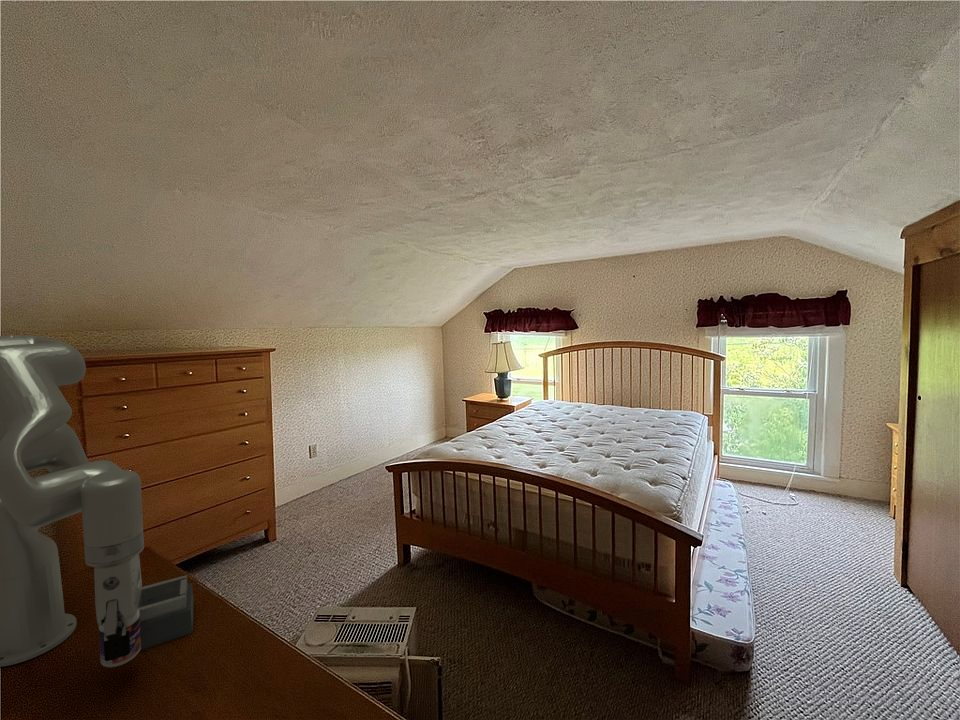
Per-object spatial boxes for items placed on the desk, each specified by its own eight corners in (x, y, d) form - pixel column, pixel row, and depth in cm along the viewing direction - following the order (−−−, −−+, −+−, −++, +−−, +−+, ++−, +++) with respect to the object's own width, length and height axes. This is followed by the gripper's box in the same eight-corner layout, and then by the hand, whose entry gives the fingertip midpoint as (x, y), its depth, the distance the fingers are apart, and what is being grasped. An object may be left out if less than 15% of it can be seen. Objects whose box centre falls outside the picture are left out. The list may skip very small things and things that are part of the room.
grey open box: (127, 654, 79) (124, 617, 78) (135, 622, 87) (132, 587, 86) (192, 633, 84) (189, 597, 83) (193, 604, 92) (191, 572, 92)
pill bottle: (118, 671, 70) (114, 617, 69) (92, 664, 71) (88, 611, 70) (149, 646, 75) (146, 596, 74) (124, 640, 77) (121, 590, 75)
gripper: (137, 566, 66) (142, 671, 68) (149, 518, 80) (153, 606, 82) (71, 581, 62) (79, 692, 64) (96, 527, 76) (102, 620, 78)
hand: (120, 643), depth 73 cm, fingers closed on pill bottle, 5 cm apart
